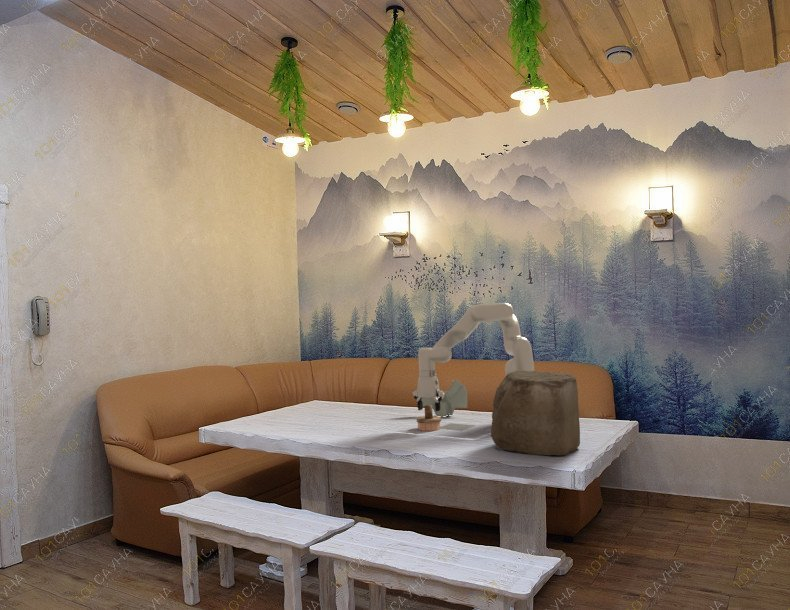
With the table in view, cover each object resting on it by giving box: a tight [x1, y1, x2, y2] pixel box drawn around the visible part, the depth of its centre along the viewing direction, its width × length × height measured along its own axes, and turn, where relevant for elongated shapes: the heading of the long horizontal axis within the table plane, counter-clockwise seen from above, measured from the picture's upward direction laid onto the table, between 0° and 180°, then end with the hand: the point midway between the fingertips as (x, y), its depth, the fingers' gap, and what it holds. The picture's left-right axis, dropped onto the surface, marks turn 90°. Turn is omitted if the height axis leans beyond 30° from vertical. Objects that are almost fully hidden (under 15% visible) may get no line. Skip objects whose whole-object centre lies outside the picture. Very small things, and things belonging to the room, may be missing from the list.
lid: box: [416, 405, 442, 423], centre depth 300 cm, size 12×12×7 cm
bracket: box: [421, 378, 468, 417], centre depth 338 cm, size 28×7×20 cm, turn 67°
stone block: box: [490, 370, 581, 456], centre depth 254 cm, size 35×25×30 cm
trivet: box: [439, 422, 477, 431], centre depth 303 cm, size 14×14×1 cm
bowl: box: [417, 421, 441, 432], centre depth 300 cm, size 10×10×4 cm
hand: (429, 410), depth 300 cm, fingers open, 9 cm apart
